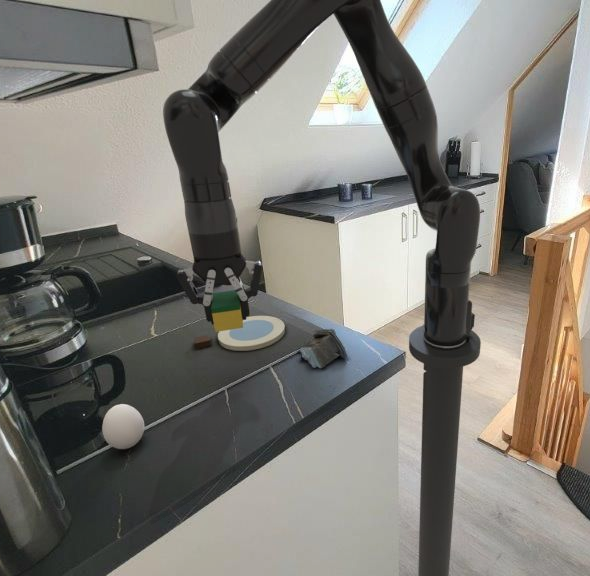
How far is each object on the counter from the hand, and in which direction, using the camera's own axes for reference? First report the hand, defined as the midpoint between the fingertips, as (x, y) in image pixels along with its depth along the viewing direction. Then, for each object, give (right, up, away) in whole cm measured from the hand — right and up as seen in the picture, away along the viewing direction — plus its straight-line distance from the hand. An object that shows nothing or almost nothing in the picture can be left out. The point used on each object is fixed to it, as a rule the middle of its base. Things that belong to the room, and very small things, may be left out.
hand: (229, 319), depth 72 cm
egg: (-12, -19, -10) cm, 24 cm away
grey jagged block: (+14, -9, +13) cm, 21 cm away
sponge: (0, 0, 0) cm, 0 cm away
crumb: (-13, -6, +18) cm, 23 cm away
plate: (-3, -5, +23) cm, 24 cm away
